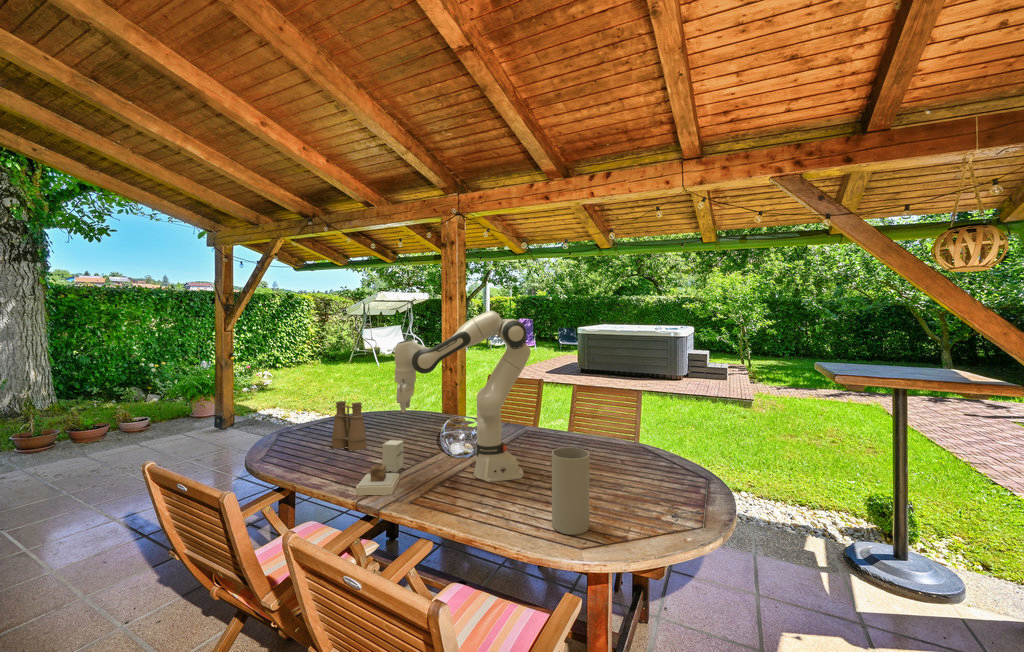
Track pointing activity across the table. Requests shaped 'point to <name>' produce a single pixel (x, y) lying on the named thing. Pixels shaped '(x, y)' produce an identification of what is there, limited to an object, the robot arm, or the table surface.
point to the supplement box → (392, 455)
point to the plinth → (377, 485)
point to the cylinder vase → (570, 490)
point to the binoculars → (349, 427)
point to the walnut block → (378, 473)
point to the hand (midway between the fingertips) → (405, 409)
